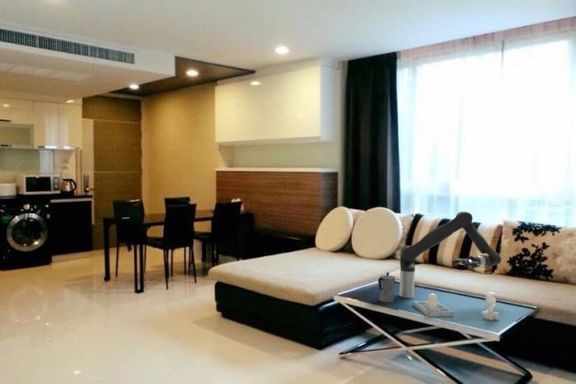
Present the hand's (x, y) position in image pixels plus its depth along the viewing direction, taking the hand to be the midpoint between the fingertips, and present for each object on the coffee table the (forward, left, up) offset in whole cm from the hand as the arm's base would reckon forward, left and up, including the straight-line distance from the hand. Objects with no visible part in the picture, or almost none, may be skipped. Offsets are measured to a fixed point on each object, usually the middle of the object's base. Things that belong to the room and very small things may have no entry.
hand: (458, 263), depth 277 cm
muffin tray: (+3, -17, -28) cm, 33 cm away
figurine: (+19, +10, -28) cm, 35 cm away
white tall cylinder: (+10, -21, -27) cm, 36 cm away
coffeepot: (-19, -38, -28) cm, 51 cm away
